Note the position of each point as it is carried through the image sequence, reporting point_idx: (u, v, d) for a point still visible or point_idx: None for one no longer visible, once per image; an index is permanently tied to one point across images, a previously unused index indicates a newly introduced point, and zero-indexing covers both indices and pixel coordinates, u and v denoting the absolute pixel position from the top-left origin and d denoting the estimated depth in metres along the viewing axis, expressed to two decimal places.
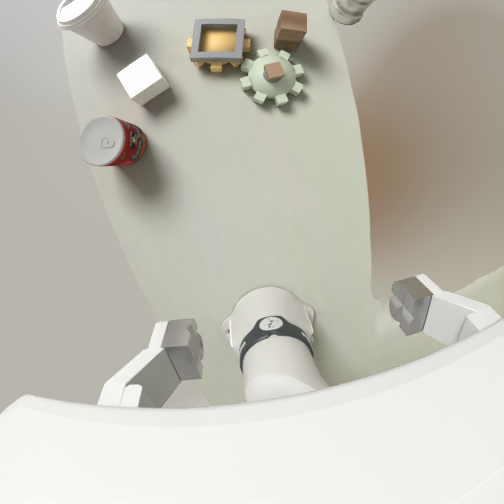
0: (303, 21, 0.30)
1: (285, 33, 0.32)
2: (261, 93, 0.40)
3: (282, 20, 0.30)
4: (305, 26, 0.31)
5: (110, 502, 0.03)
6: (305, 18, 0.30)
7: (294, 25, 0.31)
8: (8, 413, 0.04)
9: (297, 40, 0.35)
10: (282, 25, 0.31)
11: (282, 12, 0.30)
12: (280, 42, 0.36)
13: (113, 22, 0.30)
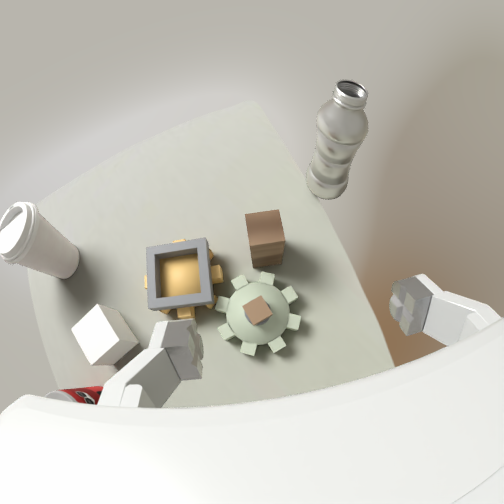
0: (277, 224, 0.31)
1: (258, 249, 0.32)
2: (249, 344, 0.33)
3: (249, 232, 0.31)
4: (281, 231, 0.31)
5: (110, 502, 0.03)
6: (278, 218, 0.32)
7: (266, 235, 0.31)
8: (8, 413, 0.04)
9: (277, 252, 0.34)
10: (250, 240, 0.31)
11: (246, 218, 0.32)
12: (257, 260, 0.36)
13: (60, 252, 0.35)
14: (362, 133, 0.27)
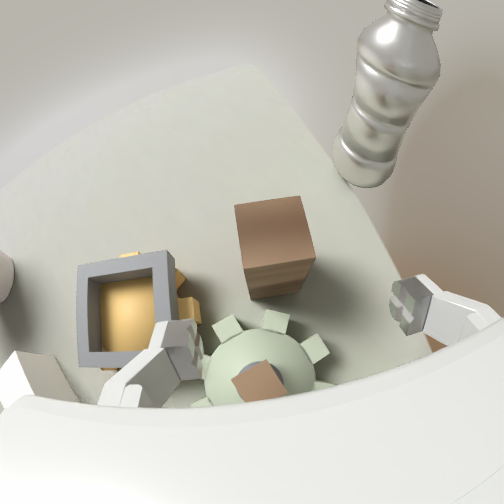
0: (298, 224, 0.16)
1: (260, 274, 0.16)
2: None
3: (242, 240, 0.15)
4: (308, 239, 0.15)
5: (110, 501, 0.03)
6: (301, 212, 0.16)
7: (277, 246, 0.15)
8: (8, 413, 0.04)
9: (296, 277, 0.18)
10: (245, 258, 0.15)
11: (237, 212, 0.16)
12: (258, 290, 0.20)
13: None
14: (436, 70, 0.12)
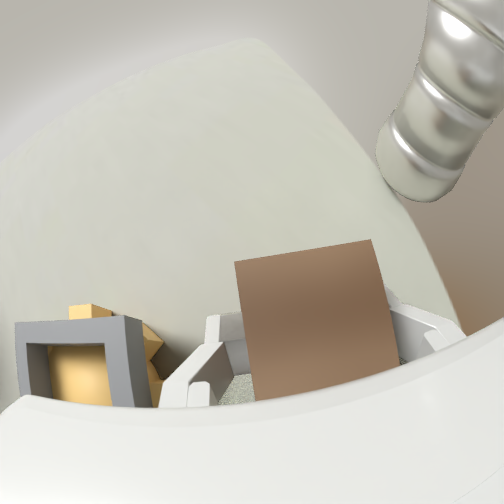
0: (371, 305, 0.07)
1: None
2: None
3: (253, 347, 0.07)
4: (388, 338, 0.07)
5: (111, 502, 0.03)
6: (375, 277, 0.07)
7: (330, 360, 0.06)
8: (8, 413, 0.04)
9: None
10: (261, 388, 0.06)
11: (242, 279, 0.07)
12: None
13: None
14: None
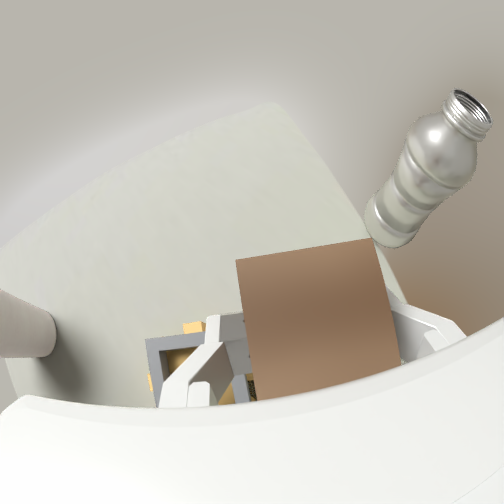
0: (372, 303, 0.07)
1: None
2: None
3: (254, 345, 0.07)
4: (389, 336, 0.07)
5: (110, 502, 0.03)
6: (376, 275, 0.07)
7: (331, 358, 0.06)
8: (8, 413, 0.04)
9: None
10: (262, 386, 0.06)
11: (243, 277, 0.07)
12: None
13: (28, 334, 0.22)
14: (473, 173, 0.15)
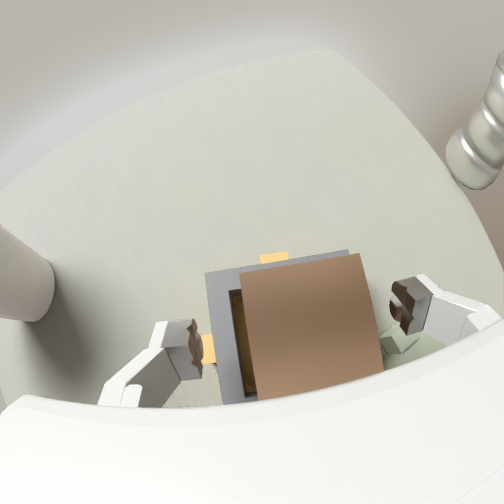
0: (357, 311, 0.08)
1: None
2: None
3: (255, 347, 0.08)
4: (373, 340, 0.08)
5: (110, 501, 0.03)
6: (361, 286, 0.08)
7: (321, 358, 0.08)
8: (8, 413, 0.04)
9: None
10: (261, 382, 0.07)
11: (245, 288, 0.09)
12: None
13: (13, 279, 0.15)
14: None
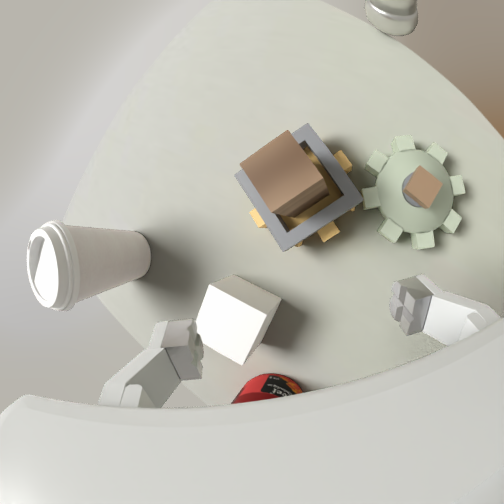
0: (297, 155, 0.17)
1: (287, 206, 0.19)
2: (424, 234, 0.22)
3: (259, 190, 0.18)
4: (310, 165, 0.16)
5: (110, 501, 0.03)
6: (294, 144, 0.17)
7: (289, 182, 0.17)
8: (8, 413, 0.04)
9: (318, 191, 0.20)
10: (268, 203, 0.18)
11: (245, 168, 0.18)
12: (294, 211, 0.22)
13: (121, 251, 0.29)
14: None
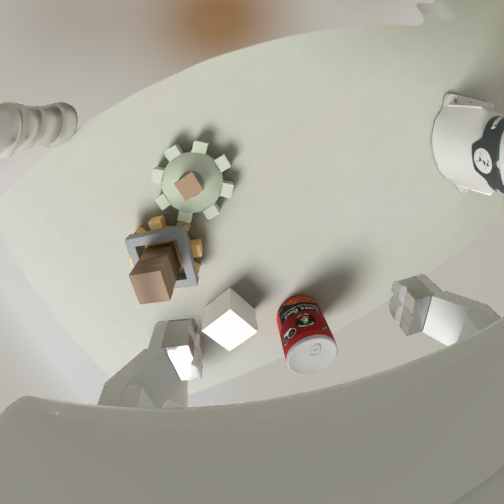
0: (144, 277, 0.30)
1: (170, 287, 0.32)
2: (222, 190, 0.35)
3: (156, 300, 0.31)
4: (151, 273, 0.29)
5: (111, 501, 0.03)
6: (137, 275, 0.29)
7: (157, 286, 0.30)
8: (8, 413, 0.04)
9: (168, 261, 0.33)
10: (165, 299, 0.31)
11: (143, 302, 0.31)
12: (175, 272, 0.36)
13: None
14: (10, 109, 0.16)
